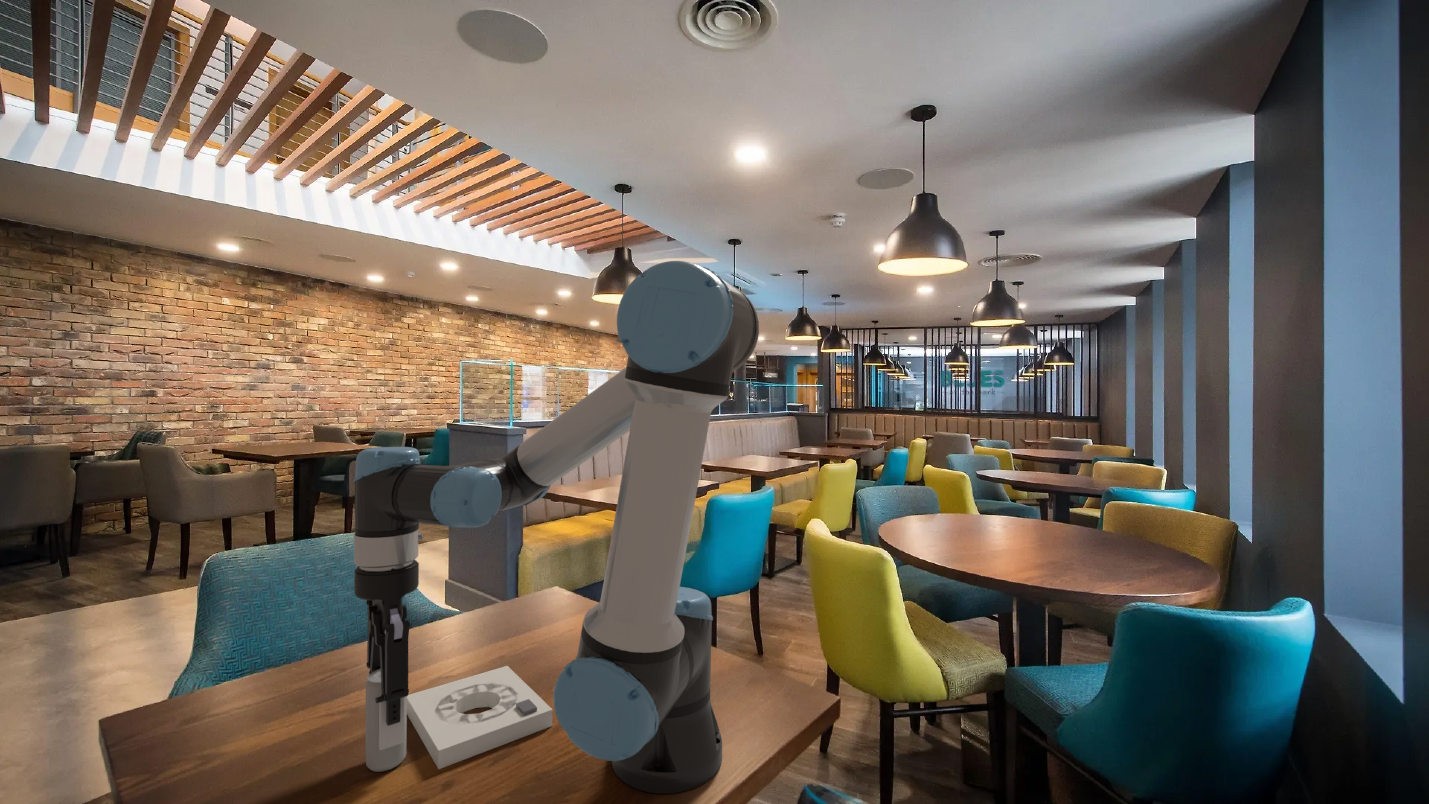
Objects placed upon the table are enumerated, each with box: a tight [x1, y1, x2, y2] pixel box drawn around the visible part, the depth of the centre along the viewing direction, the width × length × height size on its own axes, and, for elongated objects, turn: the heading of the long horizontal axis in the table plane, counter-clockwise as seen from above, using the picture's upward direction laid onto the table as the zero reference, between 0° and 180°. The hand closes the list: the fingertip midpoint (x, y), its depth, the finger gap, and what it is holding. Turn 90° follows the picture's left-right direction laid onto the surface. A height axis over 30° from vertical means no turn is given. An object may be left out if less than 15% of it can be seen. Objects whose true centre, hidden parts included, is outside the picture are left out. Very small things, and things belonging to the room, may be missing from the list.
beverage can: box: [365, 669, 408, 773], centre depth 78 cm, size 5×5×12 cm
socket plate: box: [407, 665, 554, 770], centre depth 89 cm, size 18×16×3 cm
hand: (386, 734), depth 78 cm, fingers open, 5 cm apart
